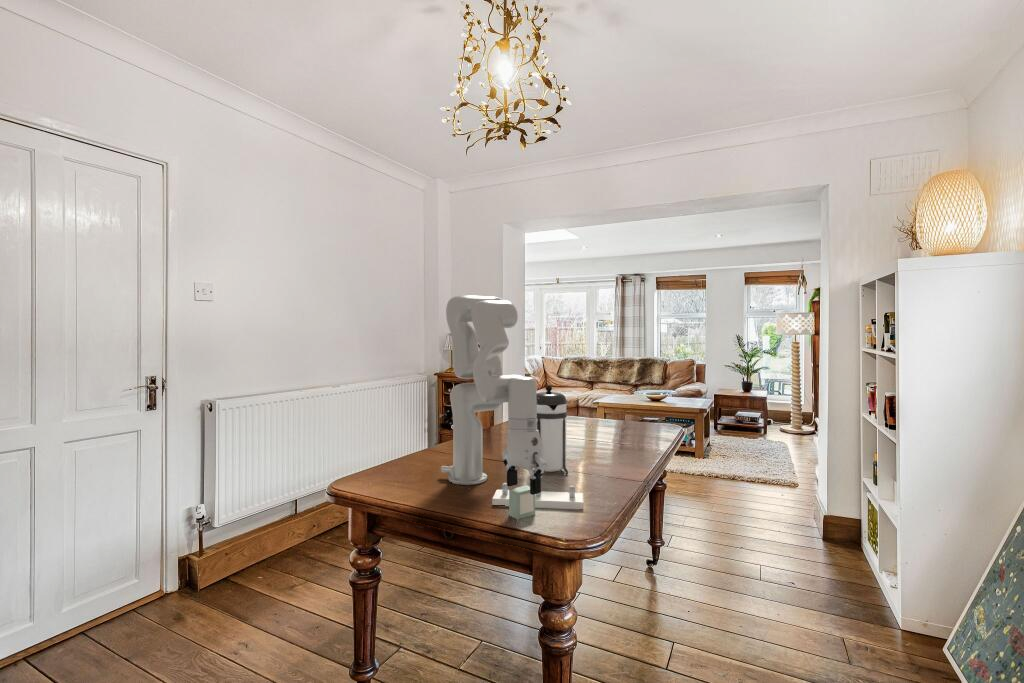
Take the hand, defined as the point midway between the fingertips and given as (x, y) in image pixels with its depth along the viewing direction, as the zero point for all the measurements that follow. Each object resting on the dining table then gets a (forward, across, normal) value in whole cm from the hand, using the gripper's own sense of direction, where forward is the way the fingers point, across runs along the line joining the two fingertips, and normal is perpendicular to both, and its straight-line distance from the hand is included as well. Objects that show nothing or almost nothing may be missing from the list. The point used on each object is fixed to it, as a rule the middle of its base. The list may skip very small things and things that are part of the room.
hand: (523, 489), depth 131 cm
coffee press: (+6, +28, -33) cm, 44 cm away
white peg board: (+7, +6, -10) cm, 13 cm away
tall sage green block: (+7, +1, 0) cm, 7 cm away
